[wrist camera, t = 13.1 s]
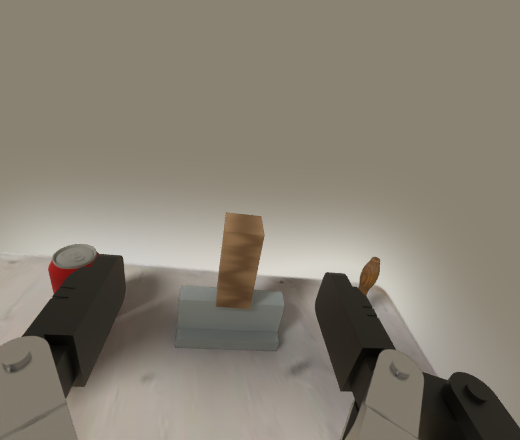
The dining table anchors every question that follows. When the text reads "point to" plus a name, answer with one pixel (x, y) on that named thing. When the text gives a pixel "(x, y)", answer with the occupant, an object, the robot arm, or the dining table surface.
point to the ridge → (228, 321)
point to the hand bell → (369, 275)
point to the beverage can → (70, 262)
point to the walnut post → (239, 260)
